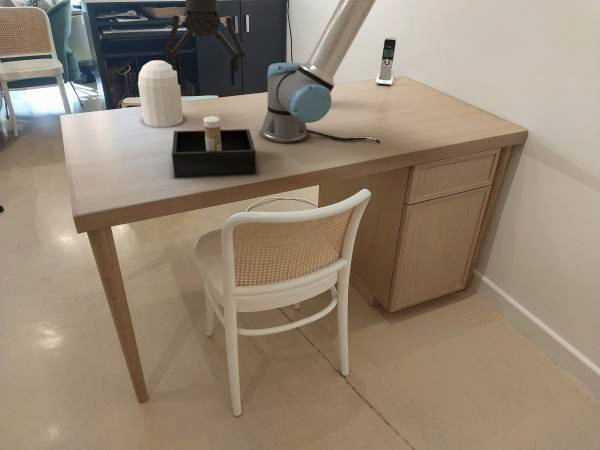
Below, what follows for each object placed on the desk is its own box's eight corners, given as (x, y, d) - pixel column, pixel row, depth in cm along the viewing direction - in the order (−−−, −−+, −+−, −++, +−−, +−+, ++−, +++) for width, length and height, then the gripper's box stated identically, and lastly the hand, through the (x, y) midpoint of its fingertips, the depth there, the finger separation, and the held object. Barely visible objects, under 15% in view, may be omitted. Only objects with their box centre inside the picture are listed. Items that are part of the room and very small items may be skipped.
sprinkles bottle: (225, 164, 130) (223, 119, 122) (210, 167, 127) (207, 122, 120) (218, 158, 133) (216, 114, 125) (204, 161, 131) (200, 117, 123)
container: (180, 112, 164) (175, 55, 153) (186, 125, 153) (180, 65, 142) (142, 114, 159) (133, 56, 148) (145, 128, 149) (136, 66, 138)
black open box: (249, 150, 139) (249, 129, 135) (255, 174, 126) (255, 151, 122) (176, 153, 135) (173, 130, 131) (174, 177, 122) (171, 154, 118)
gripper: (144, -8, 101) (155, 87, 113) (255, -3, 105) (254, 88, 117) (148, -12, 107) (158, 78, 119) (253, -7, 111) (253, 80, 123)
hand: (206, 83), depth 118 cm, fingers open, 13 cm apart
